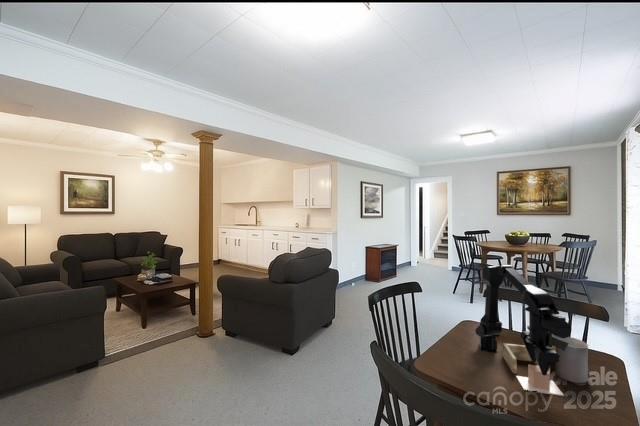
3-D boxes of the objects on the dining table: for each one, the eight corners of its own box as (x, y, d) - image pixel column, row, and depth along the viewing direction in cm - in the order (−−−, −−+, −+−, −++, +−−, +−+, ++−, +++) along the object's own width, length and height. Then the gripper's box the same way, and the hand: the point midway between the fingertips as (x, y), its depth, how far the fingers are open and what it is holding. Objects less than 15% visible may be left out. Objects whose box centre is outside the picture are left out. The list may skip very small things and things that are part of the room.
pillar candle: (552, 367, 122) (552, 331, 122) (583, 372, 118) (583, 335, 117) (558, 379, 113) (558, 341, 113) (592, 386, 109) (592, 346, 109)
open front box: (513, 373, 118) (513, 358, 118) (503, 356, 131) (503, 343, 131) (550, 378, 114) (549, 362, 114) (535, 360, 128) (535, 346, 127)
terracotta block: (533, 387, 108) (533, 371, 108) (528, 379, 113) (528, 364, 113) (549, 389, 107) (549, 373, 106) (543, 382, 111) (543, 366, 111)
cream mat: (524, 390, 107) (524, 389, 107) (515, 376, 116) (515, 375, 116) (564, 396, 104) (564, 395, 104) (552, 381, 112) (552, 380, 112)
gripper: (578, 339, 98) (578, 386, 98) (553, 319, 116) (553, 358, 116) (539, 335, 101) (539, 381, 101) (520, 316, 119) (520, 355, 119)
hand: (538, 368), depth 109 cm, fingers open, 9 cm apart
